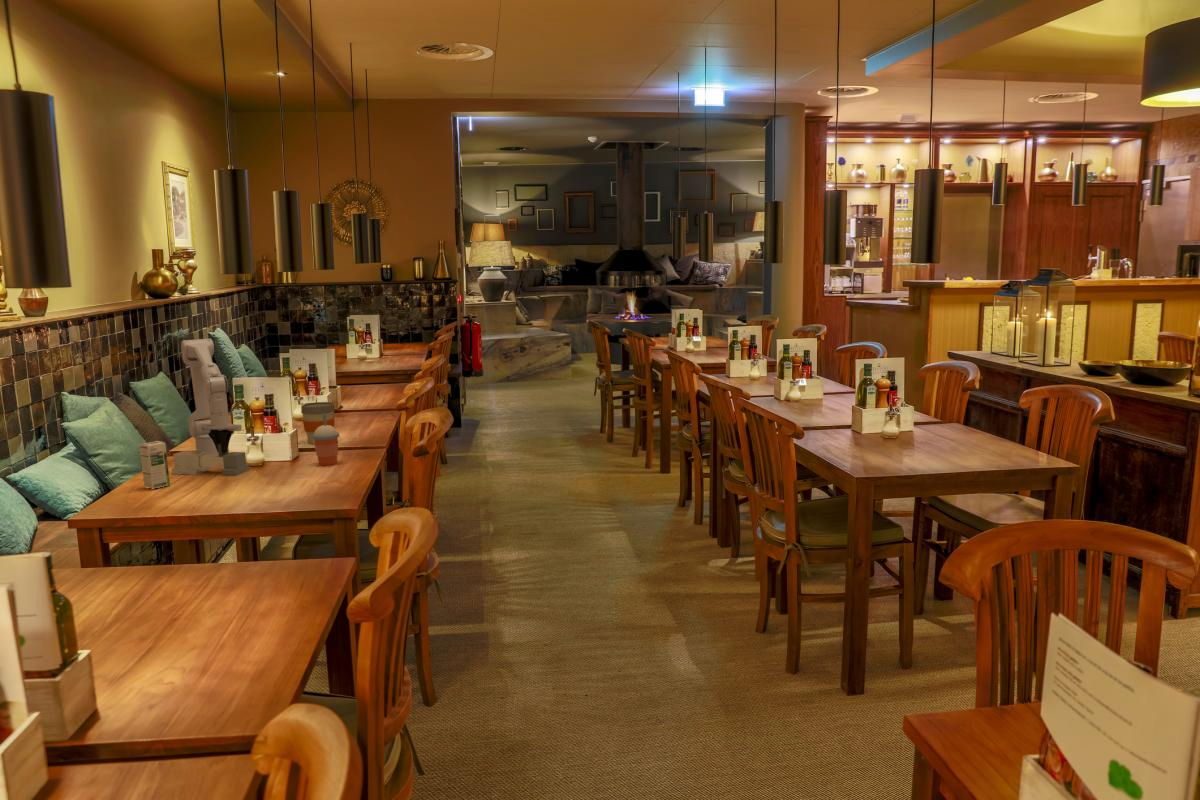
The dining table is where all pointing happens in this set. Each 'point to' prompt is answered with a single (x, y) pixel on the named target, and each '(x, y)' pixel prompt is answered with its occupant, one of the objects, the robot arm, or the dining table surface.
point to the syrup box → (154, 464)
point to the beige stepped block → (188, 463)
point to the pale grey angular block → (212, 459)
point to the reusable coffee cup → (316, 417)
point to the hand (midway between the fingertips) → (222, 451)
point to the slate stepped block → (234, 463)
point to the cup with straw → (326, 443)
